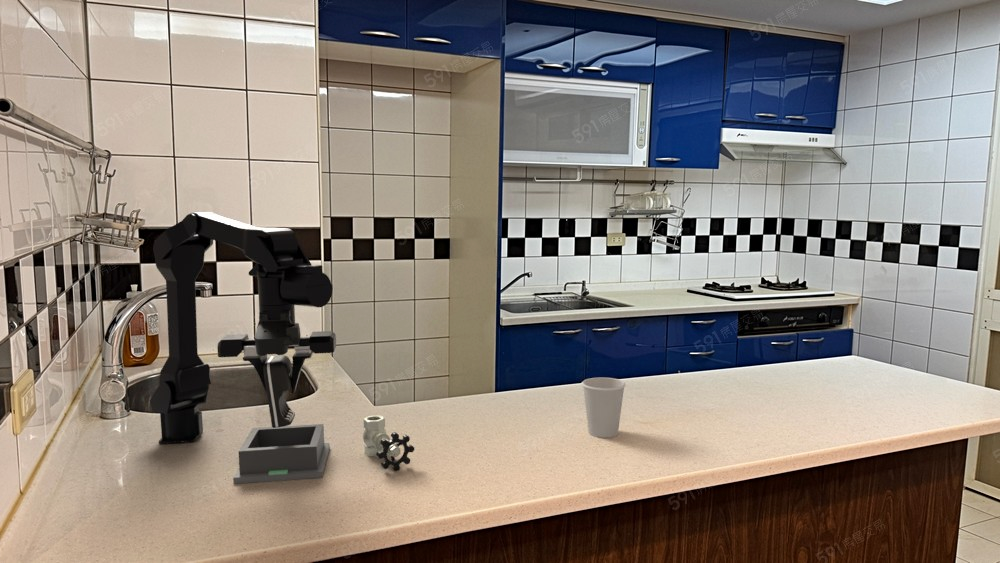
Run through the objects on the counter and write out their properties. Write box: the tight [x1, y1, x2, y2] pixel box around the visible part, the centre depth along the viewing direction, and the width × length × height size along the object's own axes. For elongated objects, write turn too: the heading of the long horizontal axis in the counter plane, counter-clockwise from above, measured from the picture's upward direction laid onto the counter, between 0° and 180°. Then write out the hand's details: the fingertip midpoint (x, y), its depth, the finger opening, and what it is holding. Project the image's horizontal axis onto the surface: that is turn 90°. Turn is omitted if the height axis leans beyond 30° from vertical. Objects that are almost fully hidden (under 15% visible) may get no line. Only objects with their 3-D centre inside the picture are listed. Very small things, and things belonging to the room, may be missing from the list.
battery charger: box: [263, 355, 296, 428], centre depth 121 cm, size 7×4×11 cm, turn 9°
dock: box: [232, 423, 330, 484], centre depth 122 cm, size 14×14×5 cm
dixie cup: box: [581, 376, 627, 439], centre depth 136 cm, size 8×8×10 cm
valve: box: [362, 415, 415, 472], centre depth 124 cm, size 7×7×12 cm
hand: (281, 393), depth 121 cm, fingers closed on battery charger, 4 cm apart
